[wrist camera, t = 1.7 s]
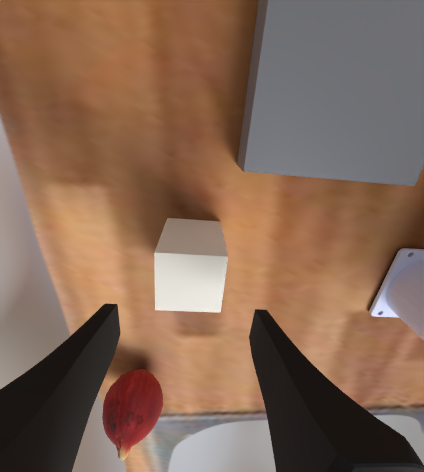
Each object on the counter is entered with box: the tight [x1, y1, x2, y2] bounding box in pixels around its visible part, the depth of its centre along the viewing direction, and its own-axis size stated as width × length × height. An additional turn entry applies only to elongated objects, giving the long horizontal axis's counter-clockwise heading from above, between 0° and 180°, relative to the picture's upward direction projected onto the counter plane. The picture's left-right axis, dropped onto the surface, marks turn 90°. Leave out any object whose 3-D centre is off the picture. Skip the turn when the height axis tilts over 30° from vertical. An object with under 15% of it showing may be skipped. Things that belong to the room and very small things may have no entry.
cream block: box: [154, 218, 228, 312], centre depth 18 cm, size 4×4×6 cm
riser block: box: [237, 0, 424, 186], centre depth 14 cm, size 12×12×3 cm
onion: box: [102, 369, 163, 461], centre depth 24 cm, size 6×6×8 cm
